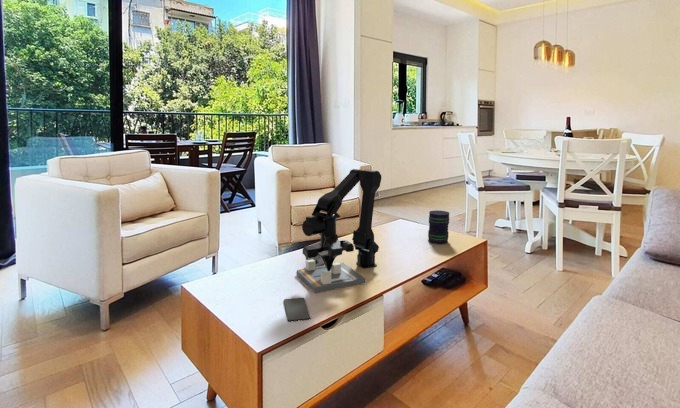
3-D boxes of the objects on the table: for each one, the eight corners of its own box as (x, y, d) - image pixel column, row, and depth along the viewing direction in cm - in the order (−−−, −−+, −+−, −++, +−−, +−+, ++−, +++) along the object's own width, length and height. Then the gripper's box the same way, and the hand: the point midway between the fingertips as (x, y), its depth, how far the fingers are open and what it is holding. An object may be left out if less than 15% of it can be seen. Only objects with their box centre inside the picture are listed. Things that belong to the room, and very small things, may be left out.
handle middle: (338, 270, 152) (338, 262, 151) (340, 272, 150) (340, 264, 149) (331, 272, 151) (330, 263, 150) (333, 274, 148) (333, 265, 148)
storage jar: (426, 243, 195) (427, 213, 192) (428, 238, 204) (430, 209, 201) (447, 245, 192) (449, 215, 189) (448, 239, 201) (450, 211, 198)
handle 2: (328, 280, 142) (328, 271, 141) (331, 283, 140) (331, 273, 139) (320, 282, 141) (320, 272, 140) (323, 284, 139) (323, 275, 138)
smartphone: (287, 320, 117) (283, 298, 131) (287, 323, 117) (283, 301, 131) (310, 318, 118) (304, 297, 132) (311, 321, 118) (304, 299, 133)
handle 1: (312, 267, 155) (312, 259, 155) (315, 269, 153) (315, 261, 152) (305, 268, 154) (305, 260, 153) (308, 270, 152) (307, 262, 151)
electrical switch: (312, 269, 160) (310, 246, 159) (303, 267, 164) (301, 245, 162) (327, 262, 168) (326, 241, 166) (318, 261, 171) (316, 240, 170)
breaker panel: (342, 267, 162) (342, 262, 162) (365, 283, 145) (365, 277, 145) (296, 274, 154) (296, 269, 153) (315, 293, 137) (315, 287, 136)
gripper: (312, 239, 135) (313, 282, 138) (360, 233, 142) (360, 273, 145) (301, 231, 144) (302, 272, 147) (347, 226, 152) (347, 264, 155)
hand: (328, 270), depth 149 cm, fingers closed
